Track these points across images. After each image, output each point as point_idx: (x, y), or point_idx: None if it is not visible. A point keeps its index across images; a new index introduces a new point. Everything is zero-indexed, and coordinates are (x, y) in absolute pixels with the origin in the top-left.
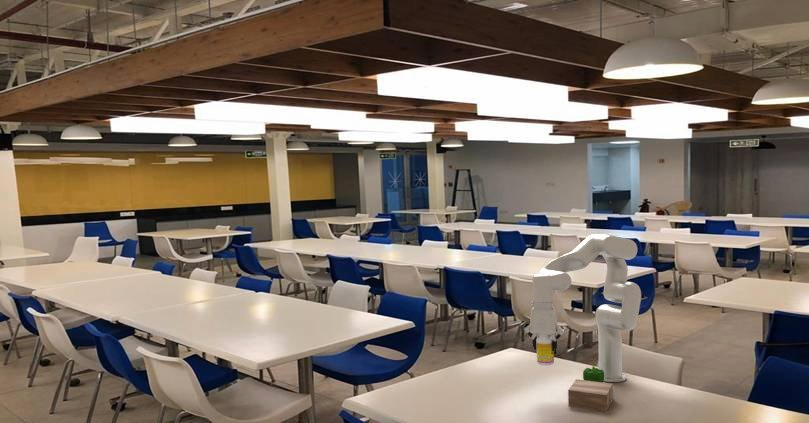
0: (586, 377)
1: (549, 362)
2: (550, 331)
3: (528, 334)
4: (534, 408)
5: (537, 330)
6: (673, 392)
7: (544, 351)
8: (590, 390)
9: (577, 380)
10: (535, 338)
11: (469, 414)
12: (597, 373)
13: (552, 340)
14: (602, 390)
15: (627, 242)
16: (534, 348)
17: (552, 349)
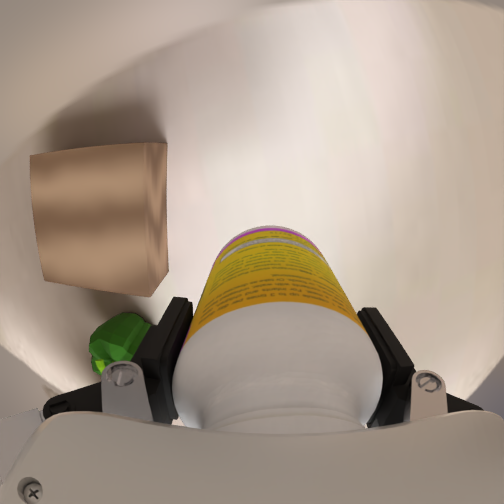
0: (135, 339)
1: (230, 243)
2: (93, 468)
3: (477, 407)
4: (281, 72)
5: (431, 473)
6: (15, 333)
7: (264, 259)
8: (72, 177)
9: (140, 284)
10: (394, 396)
11: (443, 8)
12: (93, 342)
13: (172, 392)
14: (44, 197)
15: None
16: (373, 309)
17: (186, 305)
